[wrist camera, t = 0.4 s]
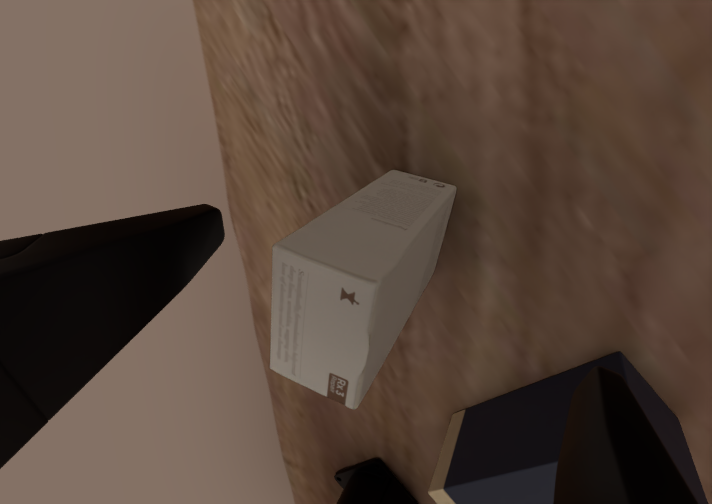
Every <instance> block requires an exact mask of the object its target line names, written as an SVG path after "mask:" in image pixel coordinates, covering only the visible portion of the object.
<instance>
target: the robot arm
mask: <svg viewBox="0 0 712 504" xmlns="http://www.w3.org/2000/svg"><path fill="white" fill-rule="evenodd" d="M224 235H225V233H224V227H223V220H222V214H221V212H220V210H219V209H217V208H215V207H213V206H210V205H207V204H201V205H196V206H190V207H185V208H179V209H174V210H168V211H163V212H157V213H152V214H147V215H141V216H135V217H130V218H125V219H119V220H114V221H108V222H103V223H97V224H92V225H87V226H81V227H75V228H70V229H65V230H59V231H54V232H48V233H45V234H38V235H32V236H26V237H21V238H14V239H9V240H3V241H0V469H1V467H3V466H4V464H6V463H7V462H8V461H9V460H10V459H11V458H12V457H13V456H14V455H15V454H16V453H17V452H18V451H19V450H20V449H21V448H22V447H23V446H24V445H25V444H26V443H27V442H28V441H29V440H30V439H31V438H32V437H33V436H34V435H35V434H36V433H37V432H38V431H39V430H40V429H41V428H42V427H43V426H44V425H45V424H46V423H47V422H48V420H50V419H51V418H52V417H53V416H54V415H55V414H56V413H57V412H58V411H59V410H60V409H61V408H62V407H63V406H64V405H65V404H66V403H67V402H69V400H70V399H71V398H73V397H74V396H75V395H76V394H77V393H78V392H79V391H80V390H81V389H82V388H83V387H84V386H85V385H86V384H87V383H88V382H89V381H90V380H91V379H92V378H93V377H94V376H95V375H96V374H97V373H98V372H99V371H100V370H101V369H102V368H103V367H104V366H105V365H106V364H107V363H108V362H109V361H110V360H111V359H112V358H113V357H114V356H115V355H116V354H117V353H118V352H119V351H120V350H121V349H123V347H124V346H125V345H127V344H128V343H129V342H130V340H132V339H133V338H134V337H135V336H136V335H137V334H138V333H139V332H140V331H141V330H142V329H143V328H144V327H145V326H146V325H147V324H148V323H149V322H150V321H151V320H152V319H153V318H154V317H155V316H156V315H157V314H158V313H159V312H160V311H161V310H162V309H163V308H164V307H165V306H166V305H167V304H168V303H169V302H170V301H171V300H172V299H173V298H174V297H175V296H176V295H177V294H179V292H181V291H182V289H183V288H184V287H185V286H186V285H187V284H188V283H189V282H190V281H191V279H193V277H194V276H195V275H196V274H197V273H198V271H199V270H200V269H201V268H202V267H203V265H204V264H205V263H206V262H207V261H208V259H209V258H210V257H211V256H212V255H213V253H214V252H215V251H216V250H217V249H218V247H219V246H220V245H221V244H222V242H223V240H224ZM334 477H335V480H336V481H337V482H338V483H339V484H340V486H341V487H342V488H343V489H344V490H343V492H342V494H341V496H340V498H339V500H338V502H337V504H418V503H417V501H416V500H415V499H414V498H413V497H412V496H411V494H410V493H409V492H408V491H407V490H406V489H405V487H404V486H403V485H402V484H401V483H400V481H399V480H398V479H397V478H396V477H395V476H394V474H393V473H392V472H391V471H390V470H389V469H388V467H387V466H386V465H385V464H384V463H383V462H382V461H381V460H380V459H373V460H370V461H367V462H364V463H361V464H358V465H355V466H352V467H349V468H346V469H343V470H340V471H338V472H336V474H335V476H334ZM553 504H699V503H698V502H697V500H696V498H695V497H694V495H693V493H692V492H691V490H690V488H689V487H688V485H687V483H686V481H685V480H684V478H683V476H682V475H681V473H680V471H679V470H678V468H677V466H676V465H675V463H674V461H673V460H672V458H671V456H670V455H669V453H668V451H667V450H666V448H665V446H664V445H663V443H662V441H661V440H660V438H659V436H658V435H657V433H656V431H655V429H654V428H653V426H652V424H651V423H650V421H649V419H648V418H647V416H646V414H645V413H644V411H643V409H642V408H641V406H640V404H639V403H638V401H637V399H636V398H635V396H634V394H633V393H632V391H631V389H630V388H629V386H628V384H627V383H626V381H625V379H624V378H623V377H622V376H621V375H620V374H619V373H616V372H614V371H611V370H609V369H607V368H604V367H602V366H596V367H594V368H593V369H592V370H591V371H590V372H589V373H588V375H587V376H586V377H585V378H584V379H583V381H582V382H581V383H580V384H579V386H578V387H577V388H576V390H575V391H574V393H573V396H572V399H571V404H570V408H569V413H568V418H567V422H566V427H565V432H564V437H563V441H562V446H561V451H560V455H559V460H558V465H557V471H556V479H555V490H554V502H553Z"/></svg>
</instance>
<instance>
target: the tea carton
mask: <svg viewBox="0 0 712 504" xmlns="http://www.w3.org/2000/svg"><path fill="white" fill-rule="evenodd" d="M596 366H602V367H604V368H607V369H609V370H611V371H614V372H616V373H619V374H620V375H621V376H622V377H623V378H624V379H625V381H626V383H627V384H628V386H629V388H630V389H631V391H632V393H633V394H634V396H635V398H636V399H637V401H638V403H639V404H640V406H641V408H642V409H643V411H644V413H645V414H646V416H647V418H648V419H649V421H650V423H651V424H652V426H653V428H654V429H655V431H656V433H657V435H658V436H659V438H660V440H661V441H662V443H663V445H664V446H665V448H666V450H667V451H668V453H669V455H670V456H671V458H672V460H673V461H674V463H675V465H676V466H677V468H678V470H679V471H680V473H681V475H682V476H683V478H684V480H685V481H686V483H687V485H688V487H689V488H690V490H691V492H692V493H693V495H694V497H695V498H696V500H697V502H698V503H699V504H708V502H707V499H706V496H705V493H704V491H703V488H702V485H701V482H700V479H699V476H698V473H697V471H696V468H695V465H694V462H693V459H692V456H691V453H690V451H689V448H688V445H687V442H686V439H685V436H684V433H683V431H682V428H681V425H680V422H679V419H678V418H677V417H676V416H675V415H674V414H673V412H672V411H671V410H670V409H669V408H668V407H667V405H666V404H665V403H664V402H663V401H662V399H661V398H660V397H659V396H658V395H657V394H656V392H655V391H654V390H653V389H652V388H651V387H650V385H649V384H648V383H647V382H646V381H645V380H644V378H643V377H642V376H641V375H640V374H639V373H638V371H637V370H636V369H635V368H634V367H633V366H632V364H631V363H630V362H629V361H628V360H627V359H626V357H625V356H624V355H623V354H622V353H621V352H616V353H614V354H611V355H608V356H606V357H603V358H600V359H598V360H595V361H592V362H590V363H587V364H585V365H582V366H579V367H577V368H574V369H571V370H569V371H566V372H563V373H561V374H558V375H555V376H553V377H550V378H547V379H545V380H542V381H539V382H537V383H534V384H531V385H529V386H526V387H523V388H521V389H518V390H515V391H513V392H510V393H507V394H505V395H502V396H500V397H497V398H494V399H492V400H489V401H486V402H484V403H481V404H478V405H476V406H473V407H470V408H468V409H466V410H462V411H459V412H457V413H454V414H453V415H452V418H451V421H450V424H449V427H448V430H447V434H446V437H445V440H444V443H443V446H442V449H441V452H440V456H439V459H438V462H437V465H436V468H435V471H434V474H433V478H432V481H431V484H430V487H429V490H428V494H429V495H430V496H431V497H432V498H433V499H434V501H435V502H436V503H437V504H553V502H554V490H555V479H556V471H557V465H558V460H559V455H560V451H561V446H562V441H563V437H564V432H565V427H566V422H567V418H568V413H569V408H570V404H571V399H572V396H573V393H574V391H575V390H576V388H577V387H578V386H579V384H580V383H581V382H582V381H583V379H584V378H585V377H586V376H587V375H588V373H589V372H590V371H591V370H592V369H593V368H594V367H596Z"/></svg>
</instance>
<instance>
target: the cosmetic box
mask: <svg viewBox="0 0 712 504" xmlns="http://www.w3.org/2000/svg"><path fill="white" fill-rule="evenodd" d="M456 190H457V188H456V186H454V185H450V184H446V183H443V182H439V181H435V180H431V179H428V178H424V177H420V176H416V175H413V174H409V173H405V172H401V171H397V170H391V171H389V172H388V173H386V174H384V175H383V176H381V177H380V178H378V179H376V180H375V181H373V182H372V183H370V184H369V185H367V186H366V187H364V188H362V189H361V190H359V191H358V192H356V193H354V194H353V195H351V196H350V197H348V198H347V199H345V200H344V201H342V202H340V203H339V204H337V205H336V206H334V207H332V208H331V209H329V210H328V211H326V212H325V213H323V214H322V215H320V216H318V217H317V218H315V219H314V220H312V221H311V222H309V223H307V224H306V225H305V226H303V227H301V228H300V229H298V230H296V231H295V232H293V233H292V234H290V235H288V236H287V237H285V238H284V239H282V240H281V241H279V242H277V243H276V244H274V245H273V247H272V307H271V350H270V368H271V369H272V370H273V371H275V372H277V373H279V374H281V375H283V376H284V377H286V378H288V379H290V380H292V381H295V382H297V383H299V384H301V385H303V386H305V387H307V388H309V389H311V390H313V391H315V392H317V393H319V394H322V395H324V396H326V397H328V398H330V399H332V400H335V401H337V402H339V403H341V404H343V405H345V406H347V407H348V408H350V409H356V408H357V407H358V406H359V404H360V403H361V401H362V399H363V398H364V396H365V394H366V393H367V391H368V389H369V387H370V386H371V384H372V382H373V380H374V379H375V377H376V375H377V373H378V372H379V370H380V368H381V366H382V365H383V363H384V361H385V359H386V357H387V356H388V354H389V352H390V350H391V349H392V347H393V345H394V343H395V341H396V340H397V338H398V336H399V334H400V332H401V331H402V329H403V327H404V325H405V323H406V322H407V320H408V318H409V316H410V314H411V313H412V311H413V309H414V307H415V305H416V304H417V302H418V300H419V298H420V297H421V295H422V293H423V291H424V290H425V288H426V286H427V284H428V283H429V281H430V279H431V277H432V275H433V273H434V271H435V267H436V264H437V260H438V256H439V253H440V249H441V246H442V242H443V238H444V235H445V231H446V228H447V224H448V220H449V217H450V213H451V209H452V206H453V202H454V199H455V195H456Z"/></svg>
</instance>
